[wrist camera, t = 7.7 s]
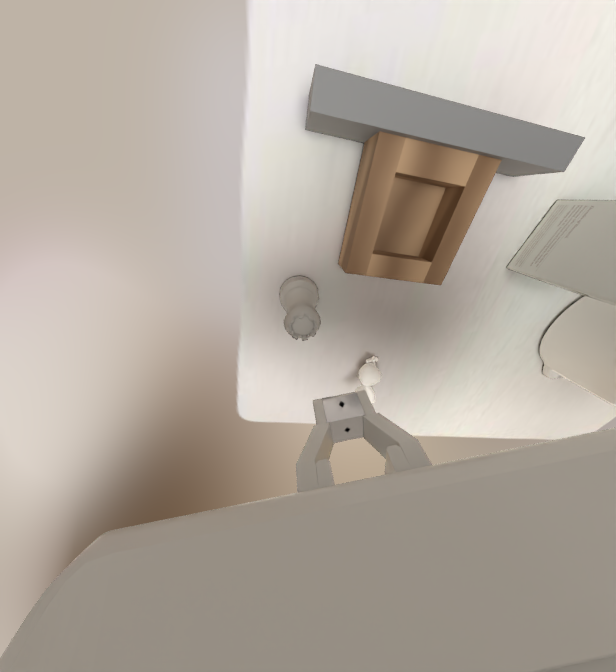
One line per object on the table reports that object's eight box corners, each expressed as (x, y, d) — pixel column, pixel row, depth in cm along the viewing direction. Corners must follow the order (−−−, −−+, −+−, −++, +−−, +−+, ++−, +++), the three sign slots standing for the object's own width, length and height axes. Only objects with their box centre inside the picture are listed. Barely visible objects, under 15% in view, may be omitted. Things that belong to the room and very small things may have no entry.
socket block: (469, 165, 20) (501, 159, 17) (422, 275, 25) (440, 285, 22) (364, 142, 18) (379, 131, 15) (338, 263, 23) (345, 273, 20)
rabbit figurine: (392, 358, 32) (381, 410, 32) (368, 352, 34) (358, 400, 35) (373, 358, 27) (361, 419, 28) (347, 351, 30) (337, 407, 31)
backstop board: (527, 149, 20) (585, 137, 16) (513, 176, 21) (564, 171, 17) (308, 94, 17) (315, 64, 13) (305, 129, 18) (310, 110, 14)
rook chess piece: (279, 273, 24) (276, 303, 17) (319, 275, 24) (332, 304, 17) (279, 310, 26) (276, 349, 19) (316, 311, 27) (326, 349, 20)
